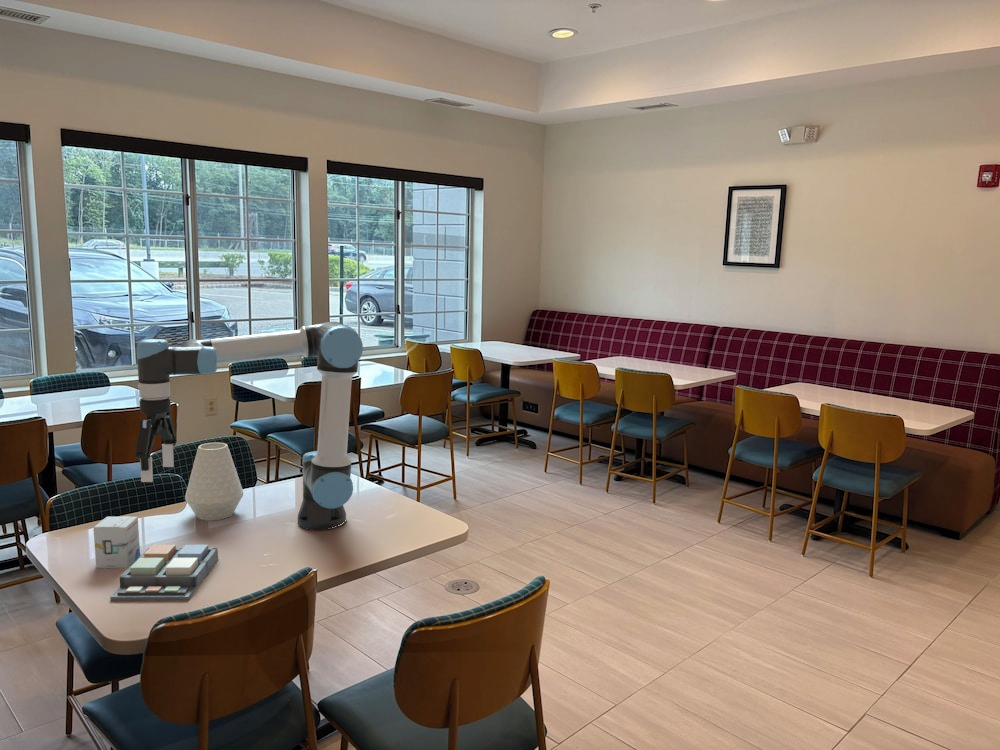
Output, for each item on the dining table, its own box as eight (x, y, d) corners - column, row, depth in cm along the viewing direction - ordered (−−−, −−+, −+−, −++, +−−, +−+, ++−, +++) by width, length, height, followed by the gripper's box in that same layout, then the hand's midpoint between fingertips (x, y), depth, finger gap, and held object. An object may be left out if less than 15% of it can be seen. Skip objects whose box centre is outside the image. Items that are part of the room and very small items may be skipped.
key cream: (198, 566, 190) (197, 557, 190) (190, 576, 184) (189, 567, 184) (174, 566, 190) (174, 557, 189) (165, 576, 184) (165, 567, 183)
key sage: (164, 566, 190) (163, 557, 189) (155, 576, 184) (154, 567, 183) (140, 566, 189) (139, 557, 189) (130, 576, 183) (130, 567, 183)
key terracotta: (176, 553, 198) (175, 544, 198) (167, 562, 192) (167, 553, 192) (153, 553, 198) (152, 544, 197) (144, 562, 192) (143, 553, 191)
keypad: (218, 559, 201) (217, 547, 201) (188, 600, 178) (188, 586, 177) (149, 559, 200) (148, 547, 199) (110, 601, 176) (109, 587, 176)
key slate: (208, 553, 199) (208, 544, 198) (201, 562, 193) (201, 553, 192) (185, 553, 198) (185, 544, 198) (178, 562, 192) (177, 553, 192)
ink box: (109, 555, 202) (106, 515, 200) (141, 555, 203) (139, 515, 201) (95, 568, 194) (92, 526, 192) (128, 568, 194) (125, 527, 192)
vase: (209, 503, 245) (207, 436, 242) (254, 509, 241) (253, 442, 237) (173, 520, 229) (170, 449, 225) (221, 527, 224) (218, 455, 221)
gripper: (160, 388, 206) (163, 460, 209) (118, 406, 181) (122, 488, 185) (187, 389, 206) (189, 461, 210) (148, 407, 182) (152, 488, 185)
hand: (158, 474), depth 197 cm, fingers open, 13 cm apart
